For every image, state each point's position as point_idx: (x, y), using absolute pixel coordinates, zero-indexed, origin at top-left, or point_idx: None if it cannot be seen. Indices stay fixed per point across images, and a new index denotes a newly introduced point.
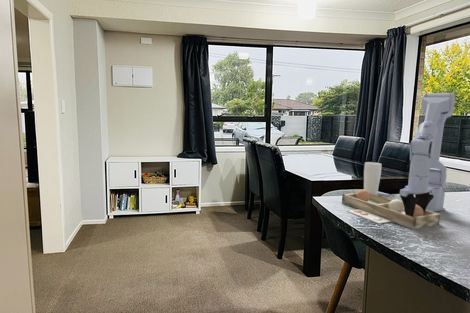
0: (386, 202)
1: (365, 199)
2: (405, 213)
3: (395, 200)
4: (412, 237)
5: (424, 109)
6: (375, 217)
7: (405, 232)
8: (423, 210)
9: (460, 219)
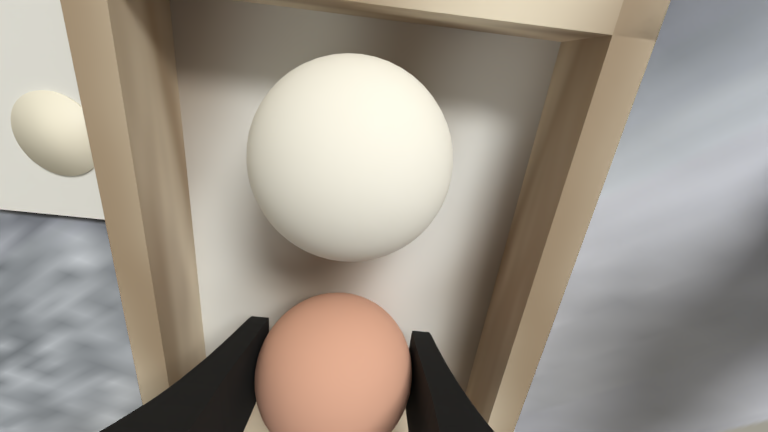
0: None
1: None
2: (239, 327)
3: (289, 190)
4: (69, 428)
5: None
6: (68, 86)
7: (90, 378)
8: (407, 421)
9: (738, 408)
